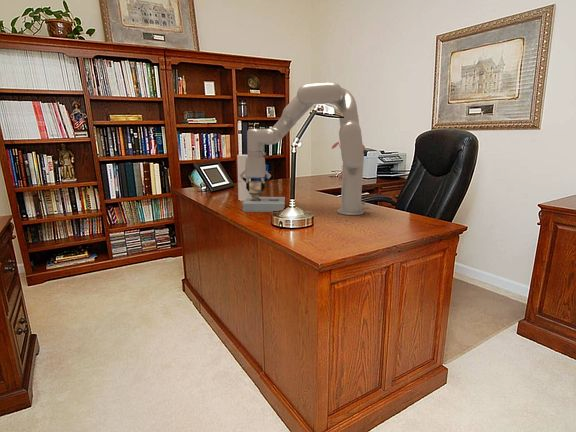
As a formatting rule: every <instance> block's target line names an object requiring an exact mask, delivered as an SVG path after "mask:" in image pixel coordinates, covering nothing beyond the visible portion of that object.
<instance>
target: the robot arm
mask: <svg viewBox="0 0 576 432" xmlns="http://www.w3.org/2000/svg"><path fill="white" fill-rule="evenodd" d="M320 104H321V105H322V104H329V105H333V106H336V108H337V110H340V111H341V112H343V114H344V116H345V117H344V118H339V117H338V118H339V126H340V127H339V131H338V136H339V137H338V138H339V144H340V146H339V148H340V147H341V149H340V153H341V154H340V155H341V160H342V165H343V166H342V169H341V174H342V179H341V195H340V208H337V210H336V211H337V213H339V214H341V215H346V216H360V215H363V214H364V213H365V210H372V205H368V204H363V203H362V191H363V178H364V177H363V176H364V161H365V154H364V151H363V145H364V143H363V135H362V128H361V127H360V119H359V113H358V106H357V101H356V100H355V97H354V95H353V94H352V93H351V92H350V91H349V90H347V89H346V88H343V87H342V86H341V85H340V84H339V83H336V82H332V81H331V82H319V83H316V82H315V83H305V84H302V85H301V86H300V87H298V89H297V92H296V95H295V97H294V98H292V100H291V101H290V102H289V103H288V104H286V106H285V107H284V109H283V110H282V114H281V116H280V117H279V119H278V121H276V123H275V124H274V125H273V126H272V127H271V128H262V129H260V128H248V130H247V132H246V135H247V136H246V138H247V139H246V141H247V146H246V148H247V151H246V153H247V155H248V157H246V162H245V170H244V171H243V172H242V173H241V174H240V177H241V178H242V179H243V180H244V181H245V182H246V189H248V191H249V179H250V178H251V179H260V181H261V182H262V184H261V190H262V192H264V190H265V185H266V184H265V183H266V182H268V180H270V178H271V177H272V175H271V174H270V173H269V172H268V170H266V166H267V165H266V159H265V157H264V156H267V152H264V145H268V146H269V145H276V144H277V143H279V142H280V141H281V140H282V139H284V137H285V136H286V135H287V134H288V133H289V132H290V131H291V129H292V128H293V127H294V126H296V124H297V122H298V121H299V120H300V119H301V118H302V117H303V116H304V115H306V113H307V112H308V111H309V110H310V109H311V108H312V107H313V106H314V105H320ZM244 174H245V177H247V179H246V178H245V177H244V176H243V175H244ZM265 177H266V178H265Z"/></svg>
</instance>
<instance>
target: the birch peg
mask: <svg viewBox="0 0 576 432" xmlns="http://www.w3.org/2000/svg"><path fill="white" fill-rule="evenodd" d="M261 184H262V180H260V181H259V180H251V181H250V182H249V194H250V195H251V197H252V200H253V201H259V197H260V196H261V195H263V191H262V190H261Z"/></svg>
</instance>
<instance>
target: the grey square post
mask: <svg viewBox="0 0 576 432" xmlns="http://www.w3.org/2000/svg"><path fill="white" fill-rule="evenodd" d="M246 157H248V154H237V156H236V159H237V162H236V163H237V191H238V192H237V195H238V197H237V198H238V201H239V200H240V202H244V201H245V199H246V198H247V197H252V195H250V194H249V191H248V189H246V182H245V181H244V180H243V179H242V178H241V177H240V174H241V173H242V172H243V171H244V170H245V162H246ZM243 176H244V177H245V174H244V175H243ZM245 178H246V179H247V177H245ZM251 179H252V178H250V179H249V182H250V181H252V180H251Z"/></svg>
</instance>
